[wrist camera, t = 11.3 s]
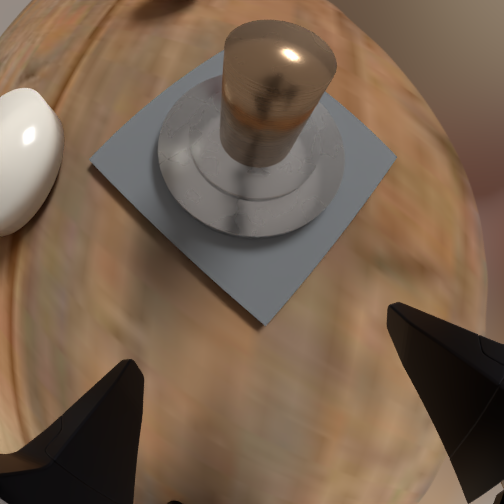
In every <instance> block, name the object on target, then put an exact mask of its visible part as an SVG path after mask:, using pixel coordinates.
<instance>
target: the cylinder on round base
mask: <svg viewBox="0 0 504 504" xmlns="http://www.w3.org/2000/svg"><path fill="white" fill-rule="evenodd" d="M336 69H337V63H336V58H335V56H334V53H333V52H332V50H331V48H330V47H329V46H328V45H327V44H326V42H325V41H323V40H322V39H321V38H320V37H319V36H317V35H316V34H315V33H313V32H311V31H310V30H308V29H306V28H304V27H301V26H299V25H296V24H293V23H289V22H285V21H279V20H257V21H252V22H248V23H245V24H243V25H241V26H239V27H237V28H236V29H234V30H233V31H232V32H231V33H230V34H229V35H228V37H227V39H226V41H225V46H224V60H223V75H219V76H216V77H213V78H210V79H208V80H206V81H204V82H201V83H199V84H198V85H196V86H195V87H193V88H191V89H190V90H189V91H187V92H186V93H185V94H184V95H182V97H181V98H180V99H179V100H178V101H177V102H176V103H175V104H174V105H173V107H172V108H171V109H170V111H169V112H168V114H167V116H166V118H165V120H164V122H163V125H162V128H161V131H160V135H159V140H158V159H159V165H160V169H161V172H162V176H163V178H164V180H165V182H166V184H167V187H168V189H169V191H170V192H171V194H172V195H173V197H174V198H175V200H176V201H177V203H178V204H179V205H180V206H181V207H182V208H183V209H184V211H186V212H187V213H188V214H189V215H190V216H191V217H193V218H194V219H195V220H197V221H198V222H200V223H201V224H203V225H204V226H206V227H208V228H211V229H213V230H215V231H217V232H220V233H223V234H226V235H229V236H234V237H240V238H251V239H260V238H270V237H275V236H280V235H283V234H286V233H289V232H292V231H294V230H296V229H298V228H300V227H302V226H304V225H305V224H307V223H308V222H310V221H311V220H313V219H314V218H315V217H317V216H318V215H319V214H320V213H321V212H322V211H323V210H324V209H325V208H326V207H327V206H328V205H329V204H330V202H331V201H332V200H333V198H334V196H335V195H336V193H337V191H338V189H339V187H340V184H341V181H342V178H343V173H344V166H345V154H344V146H343V141H342V137H341V135H340V132H339V129H338V127H337V125H336V123H335V121H334V120H333V118H332V116H331V115H330V114H329V112H328V111H327V109H326V108H325V107H324V106H323V105H322V104H321V103H320V102H319V101H320V99H321V97H322V95H323V94H324V92H325V90H326V89H327V87H328V85H329V84H330V82H331V80H332V79H333V77H334V75H335V73H336Z"/></svg>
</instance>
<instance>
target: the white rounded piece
mask: <svg viewBox="0 0 504 504" xmlns="http://www.w3.org/2000/svg"><path fill="white" fill-rule="evenodd" d="M63 151H64V130H63V126H62V123H61V121H60V119H59V117H58V116H57V115H56V113H55V112H54V111H53V110H52V109H51V108H50V106H49V105H48V104H47V103H46V102H45V100H44V99H43V98H42V97H41V96H40V94H39V93H37V92H36V91H35V90H33V89H29V88H20V89H16V90H13V91H10V92H8V93H6V94H4V95H3V96H1V97H0V236H6V235H9V234H12V233H14V232H16V231H17V230H19V229H20V228H22V227H23V226H24V225H25V224H26V223H27V222H28V221H29V220H30V219H31V218H32V217H33V216H34V215H35V214H36V212H37V211H38V210H39V208H40V207H41V205H42V204H43V202H44V201H45V199H46V197H47V196H48V194H49V192H50V190H51V188H52V186H53V184H54V182H55V179H56V177H57V174H58V171H59V168H60V165H61V161H62V157H63Z"/></svg>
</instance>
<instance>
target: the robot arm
mask: <svg viewBox="0 0 504 504" xmlns="http://www.w3.org/2000/svg"><path fill="white" fill-rule="evenodd" d="M387 329H388V332H389V334H390V336H391V339H392V341H393V343H394V346H395V348H396V350H397V353H398V355H399V358H400V360H401V362H402V364H403V366H404V368H405V370H406V372H407V374H408V376H409V377H410V379H411V381H412V383H413V385H414V387H415V389H416V390H417V392H418V394H419V396H420V398H421V400H422V402H423V404H424V406H425V408H426V410H427V412H428V414H429V416H430V418H431V420H432V422H433V424H434V426H435V428H436V430H437V432H438V434H439V436H440V438H441V441H442V443H443V445H444V447H445V449H446V452H447V454H448V456H449V457H450V461H451V463H452V466H453V468H454V470H455V473H456V475H457V478H458V480H459V482H460V485H461V487H462V490H463V493H464V495H465V498H466V500H467V503H468V504H469V503H471V502H472V501H474V500H475V499H477V498H479V497H480V496H482V495H483V494H484V493H486V492H487V491H489V490H490V489H492V488H493V487H494V486H496V485H497V484H498V483H500V482H501V484H502V486H503V488H504V344H500V343H498V342H495V341H493V340H490V339H488V338H485V337H483V336H481V335H479V336H478V334H476V333H473V332H471V331H469V330H466V329H464V328H461V327H459V326H457V325H454V324H452V323H449V322H447V321H445V320H442V319H440V318H437V317H435V316H433V315H430V314H428V313H425V312H423V311H420V310H418V309H416V308H413V307H411V306H408V305H406V304H403V303H401V302H396V303H393V304H390V305H389V306H388V309H387ZM143 394H144V376H143V374H142V372H141V371H140V369H139V368H138V366H137V364H136V363H135V361H134V360H132V359H126V360H122V361H121V362H119V363H118V364H117V365H116V366H115V367H114V368H113V369H112V370H111V371H110V372H108V373H107V374H106V375H105V376H104V377H103V378H102V379H101V380H100V381H99V382H97V383H96V384H95V385H94V386H93V387H92V388H91V389H90V390H89V391H88V392H86V393H85V394H84V395H83V396H82V397H81V398H80V399H79V400H78V401H77V402H76V403H74V404H73V405H72V406H71V407H70V408H69V409H68V410H67V411H66V412H65V413H64V414H63V415H62V416H60V417H59V418H58V419H57V420H56V421H55V422H54V423H53V424H51V425H50V426H49V427H48V428H47V429H46V430H44V431H43V432H42V433H41V434H39V435H38V436H37V437H36V438H34V439H33V440H32V441H30V442H29V443H28V444H27V445H25V446H24V447H23V448H21V449H20V450H19V451H17V452H14V453H11V454H0V504H133V498H134V485H135V473H136V463H137V454H138V445H139V437H140V430H141V422H142V414H143ZM168 504H182V503H180V502H178V501H171V502H169V503H168ZM493 504H504V490H503V491H501V492H500V493H499V494H497V495H496V498H495V501H494V503H493Z"/></svg>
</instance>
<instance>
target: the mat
mask: <svg viewBox="0 0 504 504" xmlns="http://www.w3.org/2000/svg"><path fill="white" fill-rule="evenodd" d="M223 60H224V50H223V51H221V52H220V53H218V54H216V55H215V56H213V57H212V58H210V59H209V60H207V61H205V62H204V63H202V64H201V65H199V66H198V67H196V68H195V69H194V70H192V71H191V72H189V73H188V74H186V75H185V76H184V77H182V78H181V79H179V80H178V81H177V82H175V83H174V84H173V85H171V86H170V87H169V88H167V89H166V90H165V91H164V92H162V93H161V94H160V95H158V96H157V97H156V98H155V99H153V100H152V101H151V102H150V103H149V104H147V105H146V106H145V107H144V108H143V109H141V110H140V111H139V112H138V113H137V114H136V115H135V116H133V117H132V118H131V119H130V120H129V121H128V122H127V123H126V124H124V125H123V126H122V127H121V128H120V129H119V130H118V131H117V132H116V133H115V134H114V135H113V136H112V137H111V138H110V139H109V140H108V141H107V142H106V143H105V144H104V145H103V146H102V147H101V148H100V149H99V150H98V151H97V152H96V153H95V154H94V155H93V156H92V157H91V158H90V159H89V160H90V161H91V162H92V163H93V164H94V165H95V166H96V168H97V169H98V170H99V171H100V172H101V173H102V174H103V175H104V176H105V177H106V178H107V179H108V180H109V181H110V182H111V183H112V184H113V185H114V186H115V187H116V188H117V189H118V190H119V191H120V192H121V193H122V194H123V195H124V196H125V197H126V198H127V199H128V200H129V201H130V202H131V203H132V204H133V205H134V206H135V207H136V208H137V209H138V210H139V211H140V212H141V213H142V214H143V215H144V216H145V217H146V218H147V219H148V220H149V221H150V222H151V223H152V224H153V225H154V226H155V227H156V228H157V229H158V230H159V231H160V232H162V233H163V234H164V235H165V236H166V237H167V238H168V239H169V240H170V241H171V242H172V243H173V244H174V245H175V246H176V247H177V248H178V249H180V250H181V251H182V252H183V253H184V254H185V255H186V256H187V257H188V258H189V259H190V260H191V261H192V262H194V263H195V264H196V265H197V266H198V267H199V268H200V269H201V270H202V271H203V272H204V273H206V274H207V275H208V276H209V277H210V278H211V279H212V280H213V281H214V282H216V283H217V284H218V285H219V286H220V287H221V288H222V289H223V290H225V291H226V292H227V293H228V294H229V295H230V296H231V297H232V298H234V299H235V300H236V301H237V302H238V303H239V304H240V305H242V306H243V307H244V308H245V309H246V310H247V311H249V312H250V313H251V314H252V315H253V316H254V317H256V318H257V319H258V320H259V321H260V322H261V323H263V324H264V325H265V326H266V325H267V324H268V323H269V322H270V320H271V319H272V318H273V317H274V316H275V315H276V314H277V312H278V311H279V310H280V309H281V308H282V307H283V305H284V304H285V303H286V302H287V301H288V299H289V298H290V297H291V296H292V295H293V294H294V292H295V291H296V290H297V289H298V288H299V286H300V285H301V284H302V283H303V282H304V280H305V279H306V278H307V277H308V275H309V274H310V273H311V272H312V271H313V269H314V268H315V267H316V266H317V264H318V263H319V262H320V261H321V259H322V258H323V257H324V256H325V254H326V253H327V252H328V251H329V249H330V248H331V247H332V245H333V244H334V243H335V242H336V240H337V239H338V238H339V236H340V235H341V234H342V233H343V231H344V230H345V229H346V227H347V226H348V225H349V223H350V222H351V221H352V219H353V218H354V217H355V215H356V214H357V213H358V211H359V210H360V209H361V207H362V206H363V205H364V203H365V202H366V201H367V199H368V198H369V196H370V195H371V194H372V192H373V191H374V190H375V188H376V187H377V185H378V184H379V183H380V181H381V180H382V178H383V177H384V175H385V174H386V173H387V171H388V170H389V168H390V167H391V165H392V164H393V163H394V161H395V160H396V158H397V156H396V155H395V154H394V153H393V152H392V151H391V150H390V149H389V148H388V147H387V146H386V145H385V144H384V143H383V142H382V141H381V140H380V139H379V138H378V137H377V136H376V135H375V134H374V133H373V132H372V131H370V130H369V129H368V128H367V127H366V126H365V125H364V124H363V123H362V122H361V121H360V120H359V119H357V118H356V117H355V116H354V115H353V114H352V113H351V112H349V111H348V110H347V109H346V108H345V107H344V106H342V105H341V104H340V103H339V102H338V101H336V100H335V99H334V98H333V97H332V96H330V95H329V94H328V93H327V92H324V94H323V95H322V97H321V99H320V101H319V102H320V103H321V104H322V105H323V106H324V107H325V108H326V109H327V111H328V112H329V114H330V115H331V116H332V118H333V120H334V121H335V123H336V125H337V127H338V129H339V132H340V135H341V137H342V141H343V146H344V154H345V166H344V173H343V178H342V181H341V184H340V187H339V189H338V191H337V193H336V195H335V196H334V198H333V200H332V201H331V202H330V204H329V205H328V206H327V207H326V208H325V209H324V210H323V211H322V212H321V213H320V214H319V215H318V216H317V217H315V218H314V219H313V220H311V221H310V222H308V223H307V224H305V225H304V226H302V227H300V228H298V229H296V230H294V231H292V232H289V233H286V234H283V235H280V236H275V237H270V238H260V239H251V238H240V237H234V236H229V235H226V234H223V233H220V232H217V231H215V230H213V229H211V228H208V227H206V226H204V225H203V224H201V223H200V222H198V221H197V220H195V219H194V218H193V217H191V216H190V215H189V214H188V213H187V212H186V211H184V209H183V208H182V207H181V206H180V205H179V204H178V203H177V201H176V200H175V198H174V197H173V195H172V194H171V192H170V191H169V189H168V187H167V184H166V182H165V180H164V178H163V176H162V172H161V169H160V165H159V159H158V140H159V135H160V131H161V128H162V125H163V122H164V120H165V118H166V116H167V114H168V112H169V111H170V109H171V108H172V107H173V105H174V104H175V103H176V102H177V101H178V100H179V99H180V98H181V97H182V95H184V94H185V93H186V92H187V91H189V90H190V89H191V88H193V87H195V86H196V85H198V84H199V83H201V82H204V81H206V80H208V79H210V78H213V77H216V76H219V75H223Z"/></svg>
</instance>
